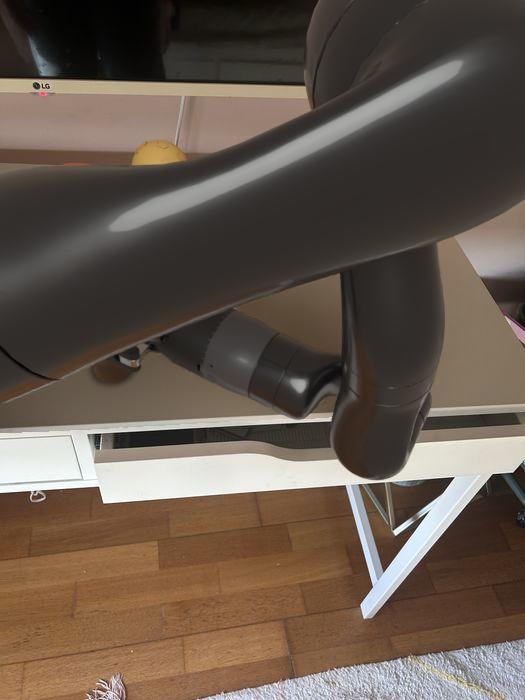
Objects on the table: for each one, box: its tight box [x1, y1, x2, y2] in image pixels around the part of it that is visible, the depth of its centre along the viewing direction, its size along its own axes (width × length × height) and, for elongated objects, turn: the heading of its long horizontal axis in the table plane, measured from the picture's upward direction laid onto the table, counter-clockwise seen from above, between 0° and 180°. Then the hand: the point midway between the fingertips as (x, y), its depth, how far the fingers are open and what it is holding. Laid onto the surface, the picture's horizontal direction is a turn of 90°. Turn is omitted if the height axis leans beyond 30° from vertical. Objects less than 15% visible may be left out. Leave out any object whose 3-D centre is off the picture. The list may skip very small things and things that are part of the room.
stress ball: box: [131, 139, 188, 165], centre depth 91 cm, size 10×10×10 cm
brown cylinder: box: [93, 360, 131, 383], centre depth 59 cm, size 4×4×20 cm
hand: (96, 285), depth 57 cm, fingers open, 8 cm apart
